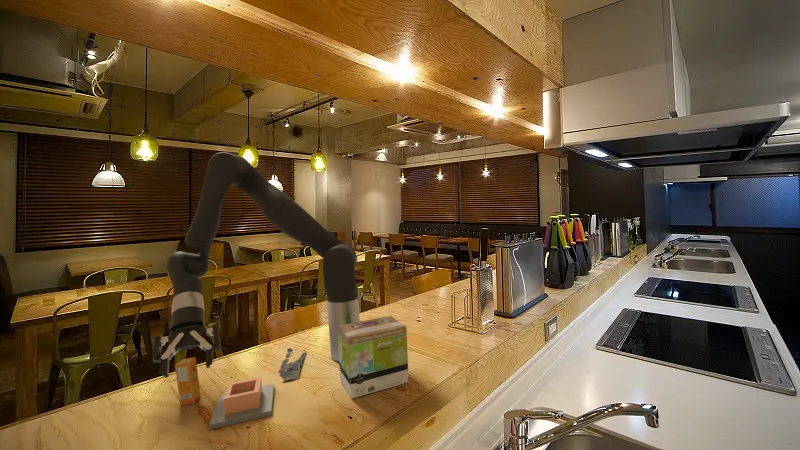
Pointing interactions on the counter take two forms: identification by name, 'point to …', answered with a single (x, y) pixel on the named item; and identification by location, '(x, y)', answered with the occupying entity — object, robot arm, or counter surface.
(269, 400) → the slate board
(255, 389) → the terracotta holder
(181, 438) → the counter surface
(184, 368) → the supplement box
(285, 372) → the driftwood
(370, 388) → the tea box
